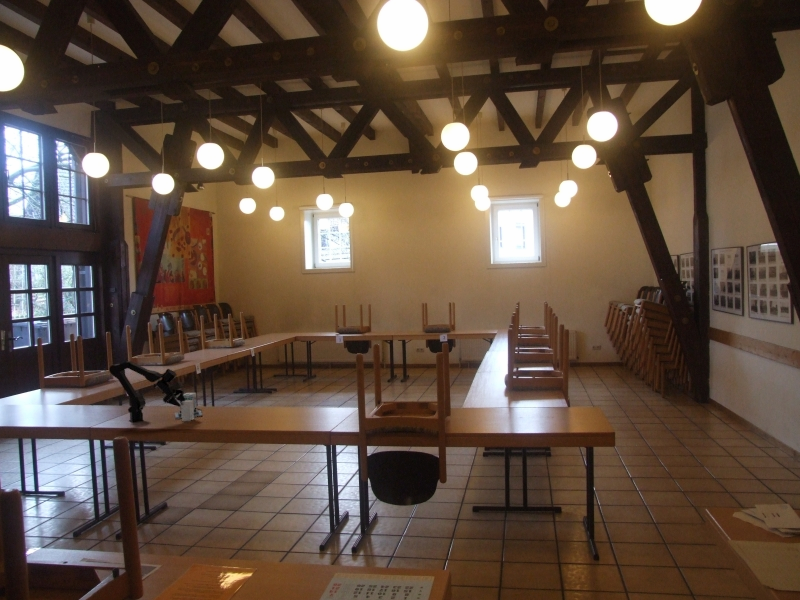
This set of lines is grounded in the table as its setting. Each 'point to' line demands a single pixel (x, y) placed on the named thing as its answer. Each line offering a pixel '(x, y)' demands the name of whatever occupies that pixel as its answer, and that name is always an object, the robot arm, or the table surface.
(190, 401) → the block
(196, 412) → the dock
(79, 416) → the table surface
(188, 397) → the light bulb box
